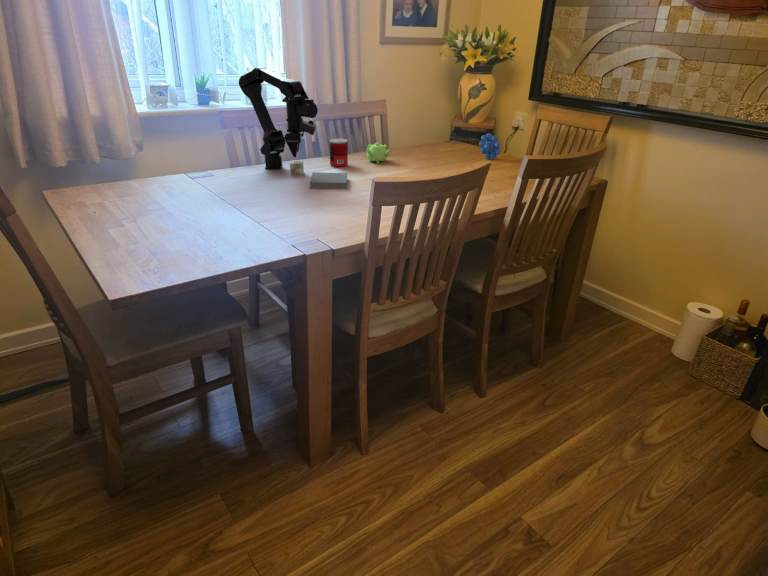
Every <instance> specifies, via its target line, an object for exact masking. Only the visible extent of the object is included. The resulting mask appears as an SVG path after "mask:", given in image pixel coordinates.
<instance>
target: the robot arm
mask: <svg viewBox="0 0 768 576" xmlns="http://www.w3.org/2000/svg"><path fill="white" fill-rule="evenodd" d="M264 82H265V83H267V84H269V85H271V86H273V87H275V88H277V89H278V90H279V92H280V93H281V94H282V95H283V96H285V97H284V98H283V99H282V100H281V102H283V103H285V105H286V106H285V108H286V118H285V119H286V123H287V124H286V125H287V128H286V133H285V134H284V133H283V131H282V130H281V129H277V128H276V127H275V125H274V122H273V120H272V118H271V115H270V112H269V110H268V108H267V106H266V103H265V101H264V98H263V96H262V90H263V87H262V84H263V83H264ZM238 85H239V89H240V90H241V91H242V93H243V94H244V95H245V96H246V98H248V99H249V100H250V102H251V105H252V108H253V110H254V112H255V114H256V117H257V119H258V121H259V124H260V126H261V128H262V132H263V137H262V141H263V145H262V146H260V154H261V155H264V162H265V167H264V169H265V170H281V169H282V167H283V165H284V164H283V156H282V155H281V154H282V153H284V152H285V148H286V147H285V146H286V145H287V146H288V148H289V151H290V153H291V155H292V157H293V158H297V154H298V152H299V150H300V144H301V142H302V139H303V137H304V136H305V133H307V134H309V135H311V136H314V134H315V132H316V128H317V125H316V124H315V122H314V120H311V119H314V118H316V117H317V116H318V115H317V114H318V111H319V110H318V106H317V104H316V103H315V102H314V100H315V99H314V98H313V99H312V98H310V99H309V96H308V94H307V92H306V90H305V88H304V87H303V84H302V82H301V81H300V80H297V79H291V78H285V77H283V76H281V75H279V74H277V73H276V72H273V71H271V70H269V69H267V68H266V67H264V66H260V67H259V66H258V67H254V68H253V69H252V70H250V71H248V72H247V73H245V74H243V75H240V77H239V80H238ZM304 118H307V119H308V118H309V119H310V120H309V121H305V120H304Z"/></svg>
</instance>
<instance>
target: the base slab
mask: <svg viewBox="0 0 768 576" xmlns="http://www.w3.org/2000/svg"><path fill="white" fill-rule="evenodd" d="M347 187H348V172H312V174H311V177H310V180H309V189H310V190H311V189H313V190H321V189H322V190H347Z"/></svg>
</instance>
